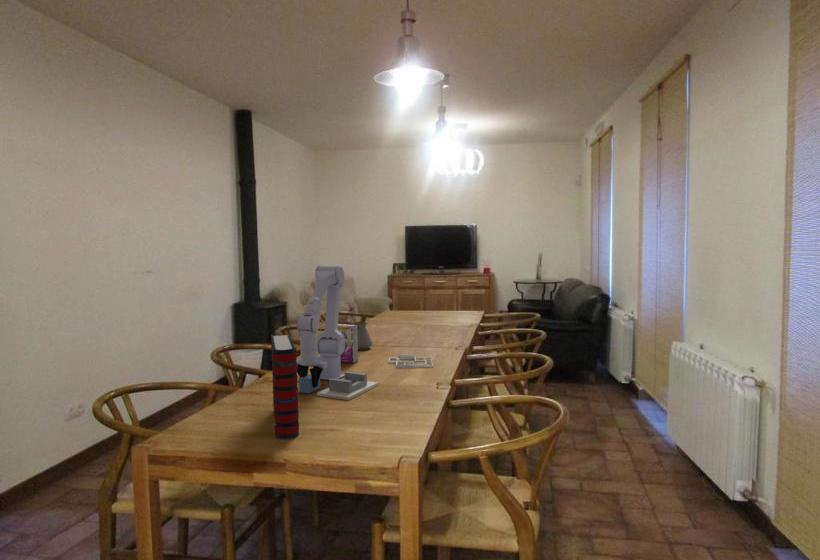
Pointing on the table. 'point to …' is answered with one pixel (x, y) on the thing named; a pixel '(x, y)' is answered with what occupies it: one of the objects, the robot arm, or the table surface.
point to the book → (285, 387)
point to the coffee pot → (363, 336)
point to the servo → (307, 384)
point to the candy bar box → (349, 343)
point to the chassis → (347, 386)
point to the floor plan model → (410, 362)
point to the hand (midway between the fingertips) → (309, 386)
